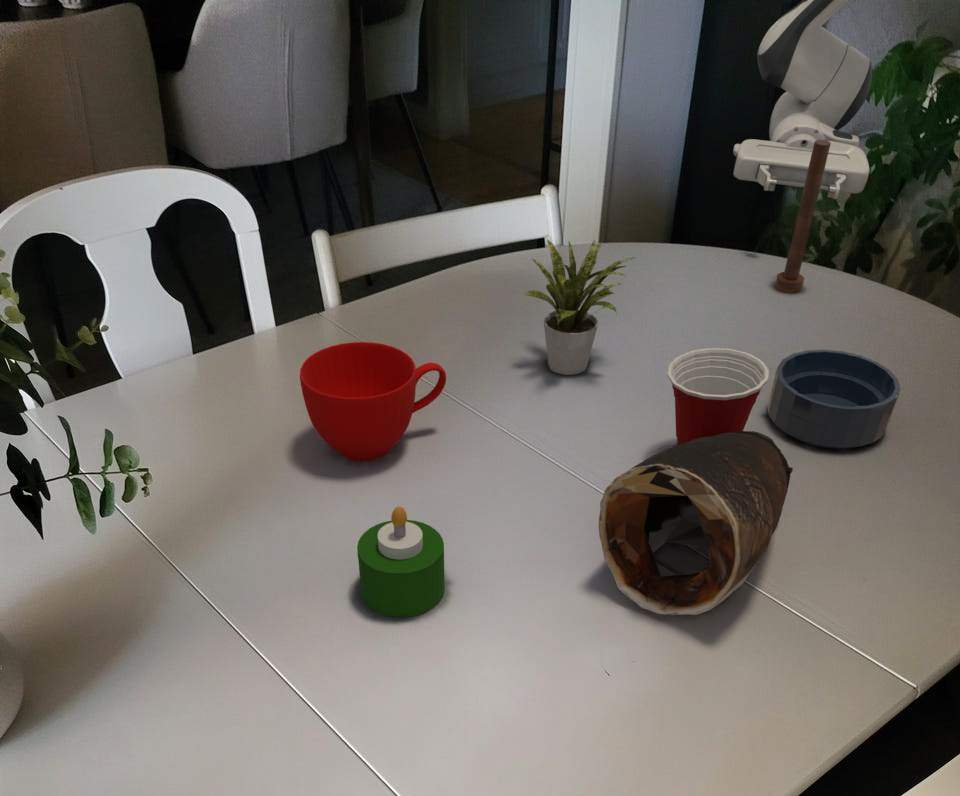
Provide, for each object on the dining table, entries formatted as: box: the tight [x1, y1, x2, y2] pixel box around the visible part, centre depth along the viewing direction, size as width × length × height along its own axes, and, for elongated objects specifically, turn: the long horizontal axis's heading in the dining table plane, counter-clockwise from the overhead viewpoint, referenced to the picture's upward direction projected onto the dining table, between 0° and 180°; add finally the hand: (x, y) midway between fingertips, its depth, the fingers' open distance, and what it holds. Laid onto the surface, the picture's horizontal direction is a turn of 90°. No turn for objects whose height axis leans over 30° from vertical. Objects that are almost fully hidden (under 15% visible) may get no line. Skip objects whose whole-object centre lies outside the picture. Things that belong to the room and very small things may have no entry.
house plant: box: [524, 238, 637, 376], centre depth 124 cm, size 14×14×16 cm
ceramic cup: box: [299, 341, 447, 462], centre depth 113 cm, size 13×17×10 cm
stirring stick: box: [774, 140, 831, 294], centre depth 142 cm, size 4×4×21 cm
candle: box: [356, 506, 446, 618], centre depth 93 cm, size 8×8×10 cm
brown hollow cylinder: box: [598, 430, 794, 616], centre depth 98 cm, size 15×15×25 cm
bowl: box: [767, 349, 901, 450], centre depth 119 cm, size 14×14×6 cm
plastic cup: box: [667, 347, 770, 445], centre depth 110 cm, size 11×11×12 cm
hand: (801, 190), depth 147 cm, fingers open, 8 cm apart
